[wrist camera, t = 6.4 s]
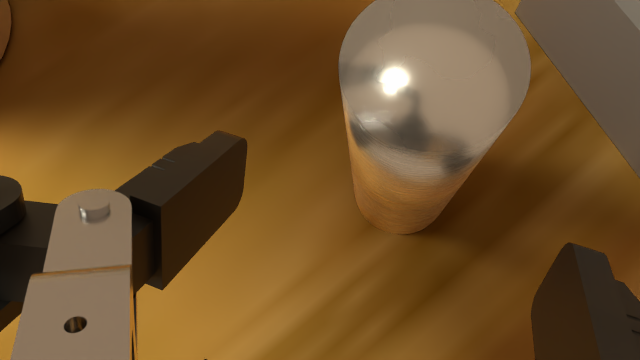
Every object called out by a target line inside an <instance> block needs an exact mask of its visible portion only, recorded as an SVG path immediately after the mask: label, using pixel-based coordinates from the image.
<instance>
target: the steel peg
mask: <svg viewBox="0 0 640 360" xmlns="http://www.w3.org/2000/svg"><path fill="white" fill-rule="evenodd" d="M338 64H339V80H340V87H341V95H342V103H343V110H344V118H345V125H346V133H347V140H348V148H349V155H350V163H351V170H352V178H353V185H354V193H355V199H356V202H357V205H358V207H359V210H360V211H361V213H362V214H363V216H364V217H365V218H366V219H367V220H368V221H369V222H370V223H371V224H372V225H374V226H375V227H377V228H378V229H380V230H383V231H385V232H388V233H392V234H410V233H414V232H418V231H420V230H422V229H424V228H426V227H427V226H429V225H430V224H431V223H432V222H433V221H434V220H435V219H436V218H437V217H438V216H439V214H440V213H441V212H442V210H443V209H444V208H445V207H446V205H447V204H448V203H449V201H450V200H451V199H452V197H453V196H454V195H455V193H456V192H457V191H458V189H459V188H460V187H461V185H462V184H463V183H464V181H465V180H466V179H467V178H468V176H469V175H470V174H471V172H472V171H473V170H474V168H475V167H476V166H477V164H478V163H479V162H480V160H481V159H482V158H483V156H484V155H485V154H486V152H487V151H488V150H489V149H490V147H491V146H492V145H493V143H494V142H495V141H496V139H497V138H498V137H499V135H500V134H501V133H502V131H503V130H504V129H505V127H506V126H507V125H508V123H509V122H510V121H511V120H512V118H513V117H514V115H515V114H516V113H517V111H518V110H519V108H520V107H521V105H522V103H523V101H524V99H525V96H526V93H527V90H528V87H529V82H530V76H531V61H530V54H529V49H528V46H527V43H526V40H525V38H524V36H523V33H522V31H521V30H520V28H519V27H518V25H517V23H516V22H515V21H514V19H513V18H512V17H511V16H510V15H509V14H508V12H507V11H505V10H504V9H503V8H502V7H501V6H500V5H499V4H497V3H496V2H494V1H493V0H375V1H374V2H373V3H371V4H370V5H369V6H367V7H366V8H365V9H364V10H363V11H362V12H361V13H360V14H359V15H358V17H357V18H356V19H355V20H354V22H353V23H352V25H351V26H350V28H349V30H348V31H347V33H346V36H345V38H344V40H343V43H342V46H341V50H340V55H339V63H338Z"/></svg>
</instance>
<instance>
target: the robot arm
mask: <svg viewBox="0 0 640 360" xmlns="http://www.w3.org/2000/svg"><path fill="white" fill-rule="evenodd" d="M10 29H11V12H10V6H9V3H8V1H7V0H0V60H1V58H2V56H3V54H4V51H5V49H6V46H7V43H8V40H9V36H10ZM246 156H247V141H246V140H245V139H244V138H241V137H238V136H235V135H232V134H229V133H225V132H222V131H216V132H214V133H213V134H211V135H210V136H209V137H207V138H206V139H205V140H203V141H202V142H201V143H196V142H193V143H190V144H186V145H183V146H180V147H177V148H175V149H173V150H172V151H171V152H169V153H168V154H166V155H165V156H163V158H162V159H159V160H158V161H156V162H155V163H153V164H152V166H151V167H150V166H149V167H148V168H146V169H145V170H143V171H142V172H141V173H139V174H138V175H136V176H135V177H133V178H132V179H131V180H129V181H128V182H126V183H125V184H123V185H122V186H121V187H119V188H118V189H116V190H115V191H113V190H107V189H92V190H85V191H81V192H78V193H75V194H72V195H70V196H68V197H67V198H65V199H64V200H62V201H61V202H60V203H59V204H50V203H41V202H33V201H24V197H23V193H22V188H21V185H20V184H19V183H18V182H17V181H16V180H14V179H12V178H9V177H6V176H0V332H1V331H2V330H3V329H4V328H5V327H6V326H7V325H8V324H9V323H11V322H12V321H13V320H14V319H15V318H16V317H17V316H18V315H19V314H21V317H20V322H19V326H18V330H17V334H16V338H15V343H14V347H13V351H12V355H11V360H138V337H137V291H138V290H139V289H140V288H141V287H142V286H143V285H144V284H148V285H150V286H153V287H155V288H158V289H160V290H163V289H164V288H165V287H166V286H167V285H168V284H169V283H170V281H171V280H172V279H173V278H174V277H175V276H176V275H177V274H178V273H179V271H180V270H181V269H182V268H183V267H184V266H185V265H186V264H187V263H188V262H189V260H190V259H191V258H192V257H193V256H194V255H195V254H196V253H197V252H198V251H199V249H200V248H201V247H202V246H203V245H204V244H205V243H206V242H207V241H208V240H209V238H210V237H211V236H212V235H213V234H214V233H215V232H216V231H217V230H218V229H219V227H220V226H221V225H222V224H223V223H224V222H225V221H226V220H227V219H228V218H229V216H230V215H231V214H232V213H233V212H234V211H235V209H236V208H237V206H238V204H239V202H240V200H241V197H242V193H243V187H244V176H245V166H246ZM531 320H532V331H533V341H534V352H535V360H640V302H639V300H638V299H637V298H636V297H635V296H634V294H633V293H632V292H631V291H630V290H629V288H628V287H627V286H626V285H625V284H624V283H623V282H620V281H617V280H615V279H614V276H613V273H612V270H611V267H610V265H609V262H608V259H607V256H606V255H605V254H604V253H601V252H598V251H595V250H592V249H589V248H586V247H582V246H579V245H576V244H573V243H567V244H565V245H564V246H563V248H562V249H561V251H560V252H559V254H558V256H557V258H556V259H555V261H554V263H553V264H552V266H551V268H550V270H549V271H548V273H547V275H546V276H545V278H544V280H543V282H542V283H541V285H540V287H539V289H538V290H537V292H536V295H535V297H534V301H533V304H532V310H531ZM205 360H207V359H205Z"/></svg>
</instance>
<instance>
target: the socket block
mask: <svg viewBox="0 0 640 360" xmlns="http://www.w3.org/2000/svg"><path fill="white" fill-rule="evenodd" d="M515 14H516V15H517V16H518V17H519V19H520V20H521V21H522V23H523V24H524V25H525V27H526V28H527V29H528V31H529V32H530V33H531V35H532V36H533V37H534V39H535V40H536V41H537V43H538V44H539V45H540V47H541V48H542V49H543V51H544V52H545V53H546V55H547V56H548V57H549V59H550V60H551V61H552V63H553V64H554V65H555V67H556V68H557V69H558V70H559V72H560V73H561V74H562V76H563V77H564V78H565V80H566V81H567V82H568V84H569V85H570V86H571V88H572V89H573V90H574V92H575V93H576V94H577V96H578V97H579V98H580V100H581V101H582V102H583V104H584V105H585V106H586V108H587V109H588V110H589V112H590V113H591V114H592V116H593V117H594V118H595V120H596V121H597V122H598V124H599V125H600V126H601V127H602V129H603V130H604V131H605V133H606V134H607V135H608V137H609V138H610V139H611V141H612V142H613V143H614V145H615V146H616V147H617V149H618V150H619V151H620V153H621V154H622V155H623V157H624V158H625V159H626V161H627V162H628V163H629V165H630V166H631V167H632V169H633V170H634V171H635V173H636V174H637V175H638V177H639V178H640V0H521V2H520V4H519V6H518V8H517V10H516V12H515Z"/></svg>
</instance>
